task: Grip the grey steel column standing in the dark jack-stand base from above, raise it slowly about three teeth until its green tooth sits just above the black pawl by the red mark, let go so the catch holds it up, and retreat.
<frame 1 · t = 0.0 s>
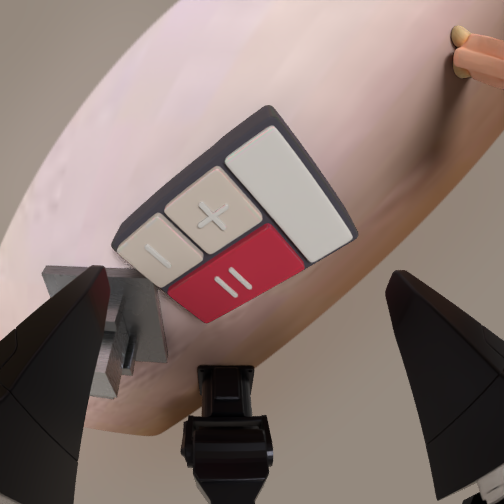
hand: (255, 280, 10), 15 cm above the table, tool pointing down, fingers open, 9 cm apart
column: (98, 353, 26), point 5 cm above the table, slide at 0.0 cm
grandmother figurine: (462, 58, 18), on the table
button control pad: (232, 215, 26), on the table
stand base: (109, 314, 30), on the table
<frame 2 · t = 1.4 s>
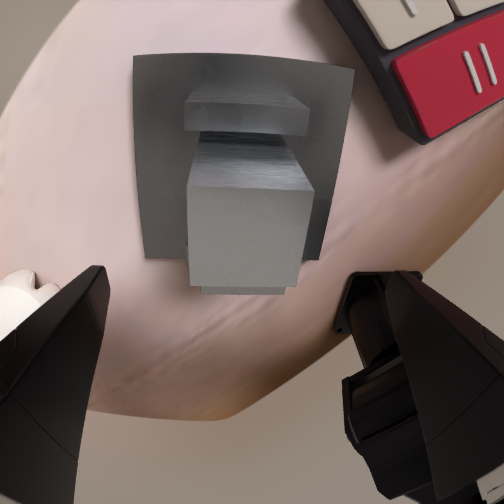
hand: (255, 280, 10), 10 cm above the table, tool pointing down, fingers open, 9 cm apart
column: (241, 200, 14), point 5 cm above the table, slide at 0.0 cm
button control pad: (444, 12, 13), on the table
water bottle: (39, 293, 23), on the table
stand base: (237, 159, 18), on the table
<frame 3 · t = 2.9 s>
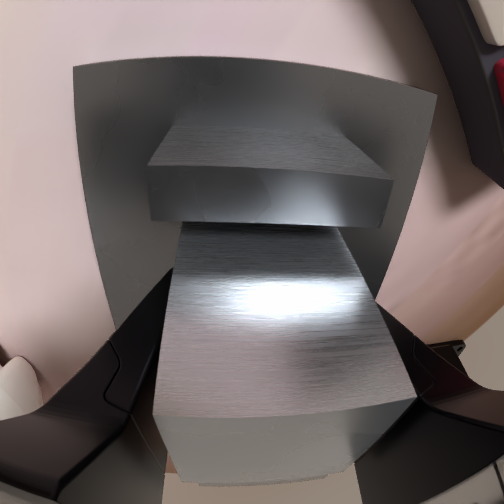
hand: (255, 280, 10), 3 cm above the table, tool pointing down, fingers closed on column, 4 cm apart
column: (259, 331, 8), point 5 cm above the table, slide at 0.0 cm, touching gripper
water bottle: (8, 361, 17), on the table
stand base: (248, 227, 12), on the table
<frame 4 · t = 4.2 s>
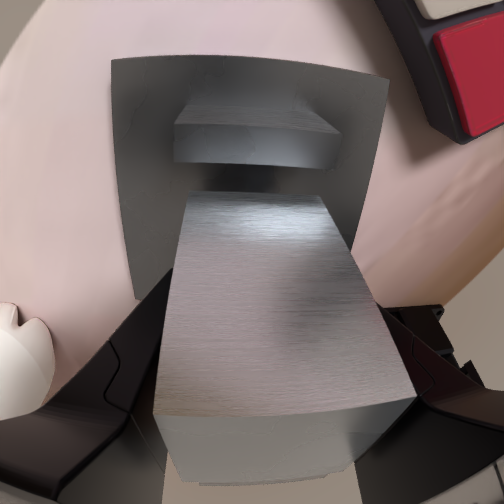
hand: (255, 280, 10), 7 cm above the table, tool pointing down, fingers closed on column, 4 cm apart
column: (259, 331, 8), point 8 cm above the table, slide at 3.5 cm, touching gripper
water bottle: (24, 325, 20), on the table
stand base: (243, 187, 15), on the table
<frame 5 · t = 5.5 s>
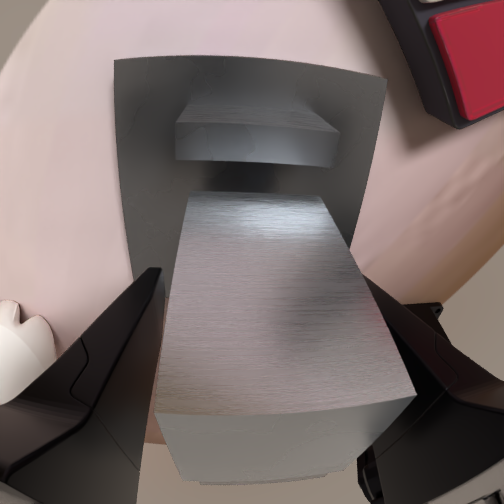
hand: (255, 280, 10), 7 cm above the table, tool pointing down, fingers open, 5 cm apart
column: (260, 330, 8), point 9 cm above the table, slide at 3.7 cm
water bottle: (25, 323, 20), on the table
stand base: (243, 186, 15), on the table
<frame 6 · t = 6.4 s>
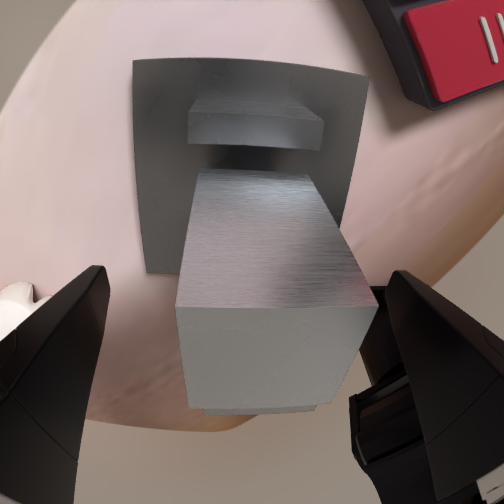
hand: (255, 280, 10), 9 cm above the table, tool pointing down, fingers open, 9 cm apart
column: (257, 278, 10), point 9 cm above the table, slide at 3.7 cm
water bottle: (37, 305, 22), on the table
stand base: (243, 171, 17), on the table
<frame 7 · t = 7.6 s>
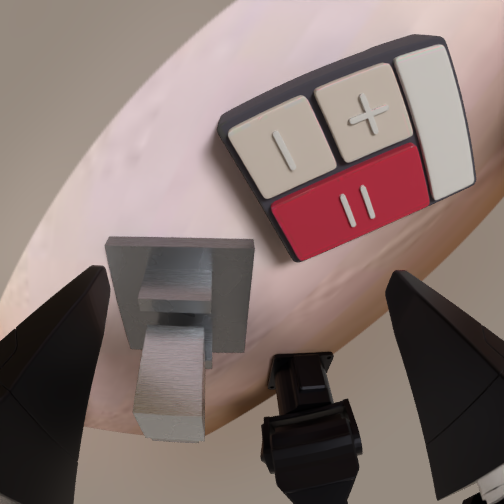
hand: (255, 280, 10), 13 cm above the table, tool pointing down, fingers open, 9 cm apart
column: (174, 384, 20), point 9 cm above the table, slide at 3.7 cm
button control pad: (352, 137, 21), on the table
stand base: (182, 297, 27), on the table
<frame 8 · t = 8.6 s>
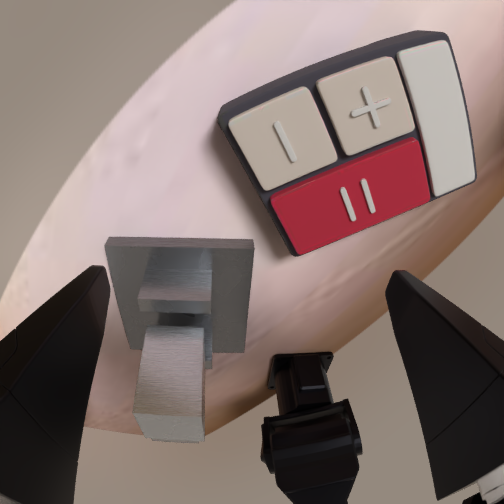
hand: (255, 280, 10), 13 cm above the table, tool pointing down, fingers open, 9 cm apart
column: (174, 384, 20), point 9 cm above the table, slide at 3.7 cm
button control pad: (353, 131, 20), on the table
stand base: (182, 297, 27), on the table
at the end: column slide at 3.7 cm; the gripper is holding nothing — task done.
